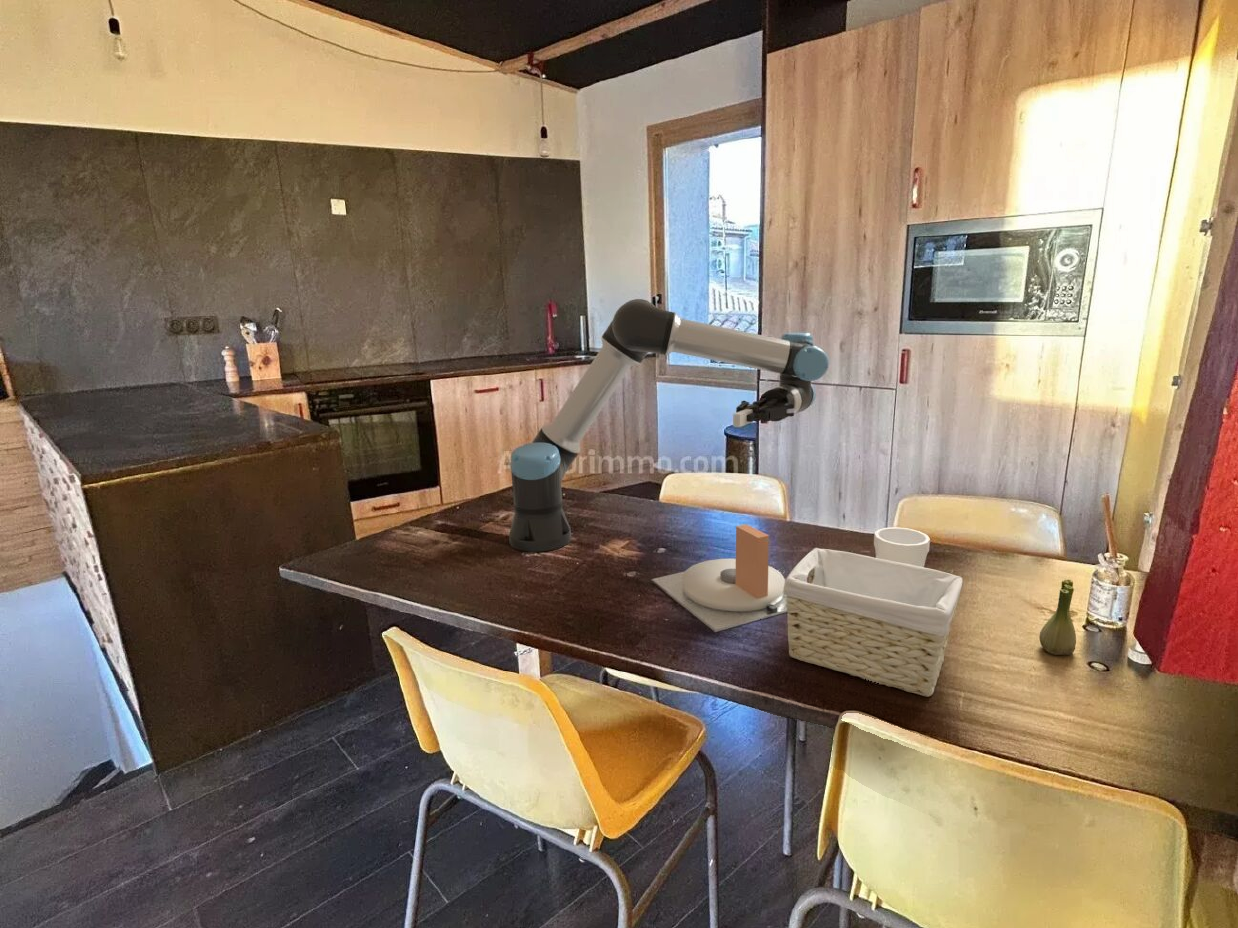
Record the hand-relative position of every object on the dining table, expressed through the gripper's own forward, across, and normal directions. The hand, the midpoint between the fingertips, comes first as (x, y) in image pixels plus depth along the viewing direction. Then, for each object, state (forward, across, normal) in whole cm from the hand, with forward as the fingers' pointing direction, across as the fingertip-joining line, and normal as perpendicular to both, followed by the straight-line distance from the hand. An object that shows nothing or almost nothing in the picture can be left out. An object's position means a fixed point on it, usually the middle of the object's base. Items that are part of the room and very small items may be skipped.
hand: (736, 420), depth 136 cm
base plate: (+13, -6, -32) cm, 35 cm away
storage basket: (+24, -35, -32) cm, 53 cm away
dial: (+13, -6, -32) cm, 35 cm away
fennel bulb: (+6, -59, -32) cm, 68 cm away
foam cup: (0, -34, -32) cm, 47 cm away
